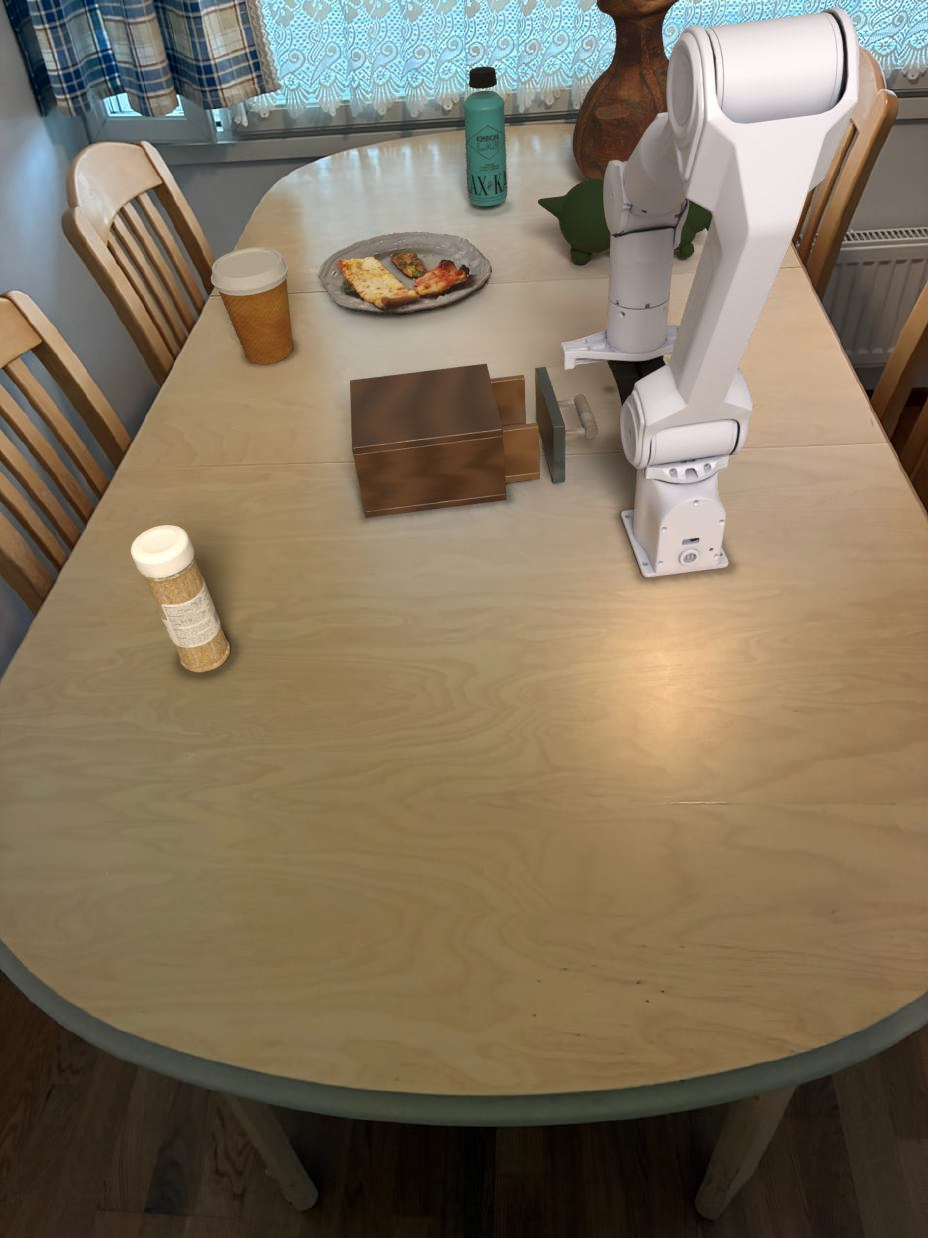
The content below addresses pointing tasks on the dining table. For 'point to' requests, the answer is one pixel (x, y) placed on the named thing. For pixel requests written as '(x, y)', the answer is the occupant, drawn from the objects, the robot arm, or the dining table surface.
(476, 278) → the food plate
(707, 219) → the toy figurine
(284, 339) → the disposable coffee cup
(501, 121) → the beverage bottle
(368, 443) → the cabinet
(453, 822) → the dining table surface
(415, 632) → the dining table surface
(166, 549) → the spice jar
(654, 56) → the jug
